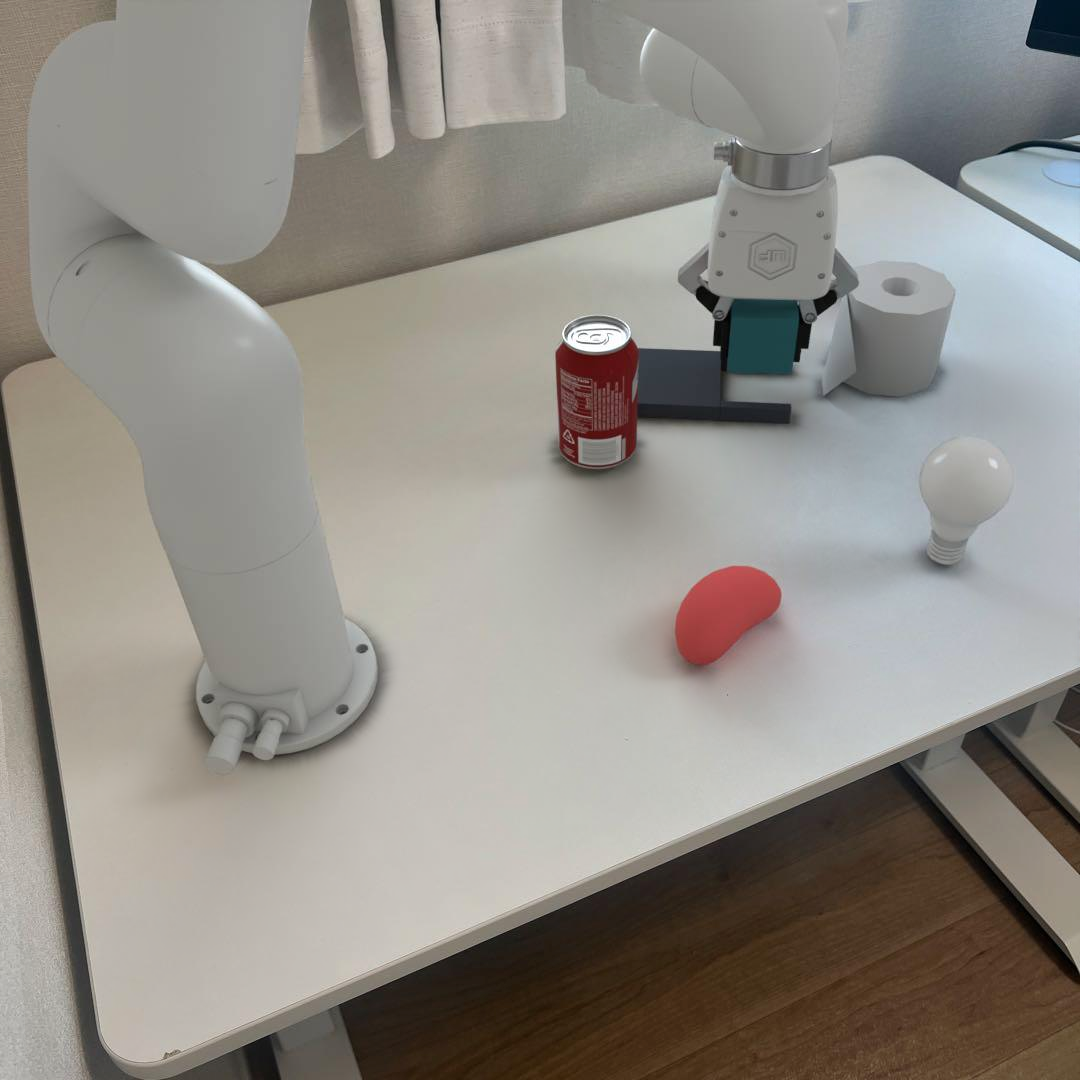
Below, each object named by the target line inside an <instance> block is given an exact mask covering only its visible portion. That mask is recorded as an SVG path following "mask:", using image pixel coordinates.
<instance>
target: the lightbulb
mask: <svg viewBox="0 0 1080 1080" xmlns="http://www.w3.org/2000/svg"><path fill="white" fill-rule="evenodd" d="M918 475H919V476H918V487H919V488H918V489H919V493H920V495H921V498H922V500H923V502H924V504H925V506H926V508H927V509H928V511H929V514H930V515H929V516H930V517H929V518H930V519H929V520H930V522H929V523H930V526H931V531H930V535H929V539H928V543H927V546H926V554H927V556H928V557H929V558H930V559H931V560H932V561H933V562H935V563H937V564H940V565H943V566H953V565H956V564H958V563H960V562H961V561H962V560H963V558H964V555H965V551H966V548H967V545H968V541H969V539H970V538H971V536H973V534H975V533H976V531H977V529H978V528H979V526H980V525H981V524H983V523H985V522H987V521H989V520H990V519H992V518H993V517H995V516H996V515H997V514H998V513H999V512H1001V511H1002V510H1003V508H1004V507H1005V506H1006V505H1007V504H1008V502H1009V500H1010V497H1011V495H1012V493H1013V488H1014V481H1015V480H1014V479H1015V478H1014V471H1013V467H1012V464H1011V462H1010V460H1009V458H1008V456H1007V455H1006V454H1005V453H1004V452H1003V450H1002V449H1001V448H999V447H998V446H997V445H995V444H994V443H993V442H991V441H988V440H987V439H984V438H982V437H981V438H980V437H976V436H968V435H967V436H958V437H953V438H950V439H948V440H945V441H943V442H941V443H940V444H938V445H936V447H934V448H933V449H932V450H931V451H930V452H929V453H928V454H927V456H926V457H925V459H924V461H923V463H922V465H921V467H920V471H919V474H918Z"/></svg>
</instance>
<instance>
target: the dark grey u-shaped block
mask: <svg viewBox="0 0 1080 1080" xmlns="http://www.w3.org/2000/svg"><path fill="white" fill-rule="evenodd" d="M638 351H639V361H638V401H637V418H638V417H641V418H658V419H659V418H660V419H663V418H664V419H683V420H685V419H686V420H707V421H728V422H729V421H730V422H749V423H750V422H752V423H772V424H773V423H774V424H790V422H791V415H792V404H791V403H783V402H782V403H781V402H757V401H734V400H722V398H721V395H722V394H721V393H722V392H721V391H722V379H721V378H722V370H723V371H727V358H726V360H720V350H701V349H699V350H698V349H672V348H649V347H648V348H645V347H638Z"/></svg>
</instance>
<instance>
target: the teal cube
mask: <svg viewBox="0 0 1080 1080" xmlns="http://www.w3.org/2000/svg"><path fill="white" fill-rule="evenodd" d="M798 304H799V303H798V300H765V299H736V298H735V299H734V301H733V303H732V305H731V327H730V338H729V350H728V358H727V370H726V371H727V373H736V374H737V373H738V374H739V373H741V374H764V375H766V374H768V375H792V374H793V369H794V362H793V361H794V354H795V346H796V339H797V331H798V324H799V312H798Z"/></svg>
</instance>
